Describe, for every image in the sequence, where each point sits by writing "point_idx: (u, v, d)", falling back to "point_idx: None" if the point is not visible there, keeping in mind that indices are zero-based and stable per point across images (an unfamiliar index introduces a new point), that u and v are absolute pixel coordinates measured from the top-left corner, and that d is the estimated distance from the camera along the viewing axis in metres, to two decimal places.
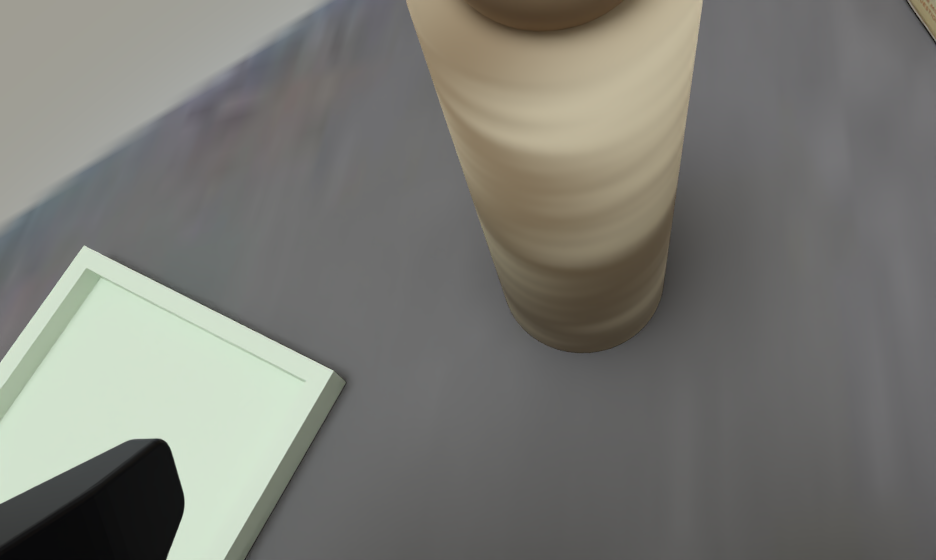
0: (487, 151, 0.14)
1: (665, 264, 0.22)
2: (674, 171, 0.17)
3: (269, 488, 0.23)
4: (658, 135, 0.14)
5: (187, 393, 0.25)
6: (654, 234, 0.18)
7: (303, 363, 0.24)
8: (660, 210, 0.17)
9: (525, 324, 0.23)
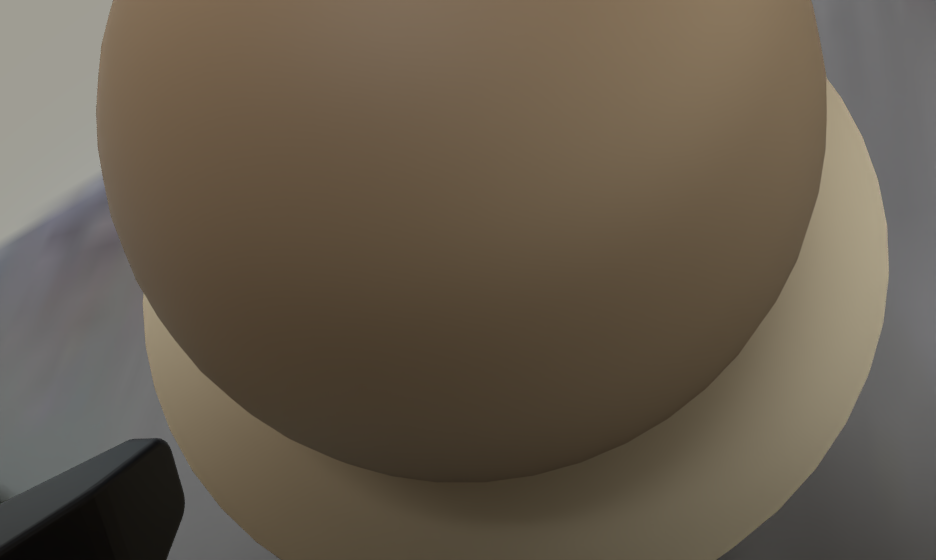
0: None
1: None
2: None
3: None
4: None
5: None
6: None
7: None
8: None
9: None
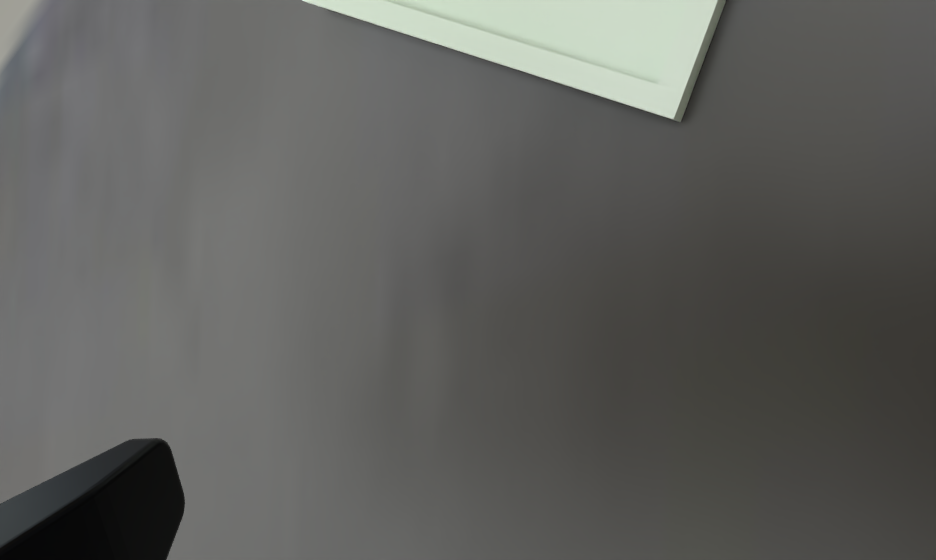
0: None
1: None
2: None
3: None
4: None
5: None
6: None
7: None
8: None
9: None
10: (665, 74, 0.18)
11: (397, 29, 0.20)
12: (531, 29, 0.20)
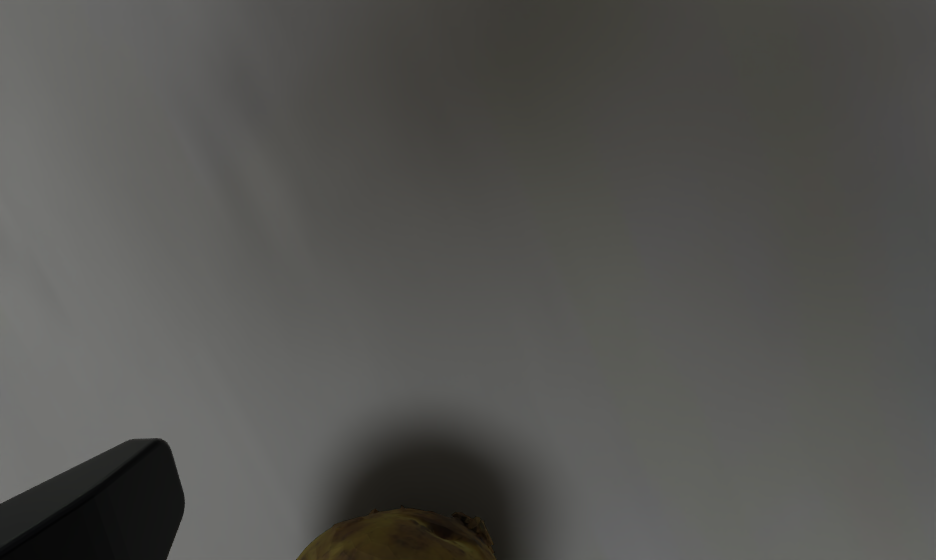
0: None
1: None
2: None
3: None
4: None
5: None
6: None
7: None
8: None
9: None
10: None
11: None
12: None
